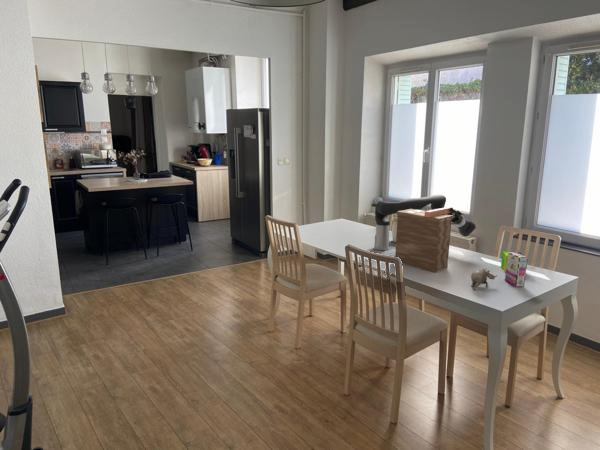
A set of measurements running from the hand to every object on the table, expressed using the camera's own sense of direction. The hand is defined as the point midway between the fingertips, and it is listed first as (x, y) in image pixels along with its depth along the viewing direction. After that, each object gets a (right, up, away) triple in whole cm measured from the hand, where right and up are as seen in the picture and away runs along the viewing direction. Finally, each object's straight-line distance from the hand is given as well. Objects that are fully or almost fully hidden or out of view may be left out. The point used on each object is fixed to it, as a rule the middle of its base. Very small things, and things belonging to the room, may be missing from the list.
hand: (446, 208), depth 265 cm
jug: (-13, -23, +62) cm, 67 cm away
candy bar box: (+28, -42, -28) cm, 57 cm away
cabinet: (-14, -34, +4) cm, 38 cm away
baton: (-6, -4, -5) cm, 8 cm away
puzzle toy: (+38, -37, -4) cm, 53 cm away
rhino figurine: (+7, -43, -33) cm, 54 cm away
